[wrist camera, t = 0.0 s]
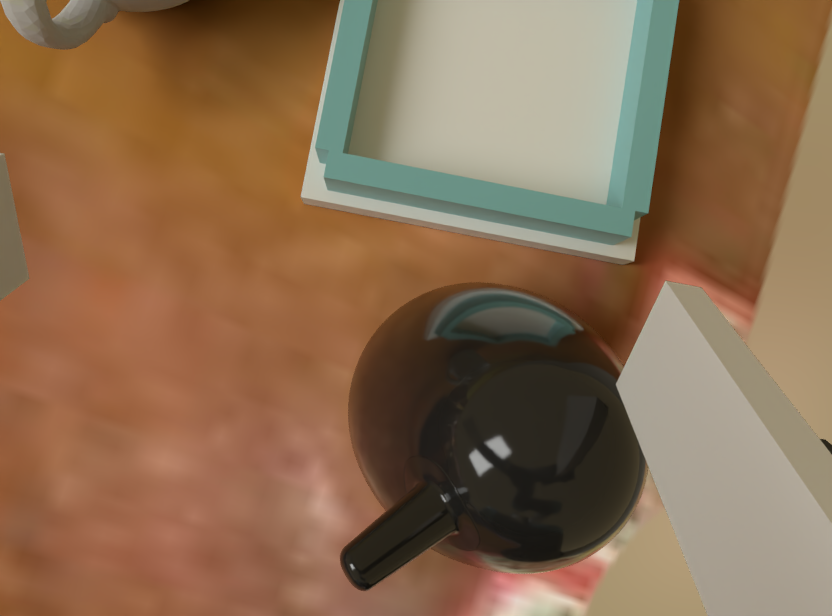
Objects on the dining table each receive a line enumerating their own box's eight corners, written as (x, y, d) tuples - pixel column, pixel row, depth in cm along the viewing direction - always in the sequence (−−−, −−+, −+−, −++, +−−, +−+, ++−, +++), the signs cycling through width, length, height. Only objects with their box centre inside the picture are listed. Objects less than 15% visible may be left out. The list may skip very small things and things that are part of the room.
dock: (623, 264, 28) (654, 254, 25) (304, 203, 27) (294, 184, 24) (667, -34, 30) (702, -81, 26) (364, -102, 29) (363, -158, 25)
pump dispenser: (310, 358, 27) (220, 379, 12) (500, 255, 28) (647, 148, 12) (414, 550, 26) (461, 827, 11) (602, 439, 27) (879, 559, 12)
